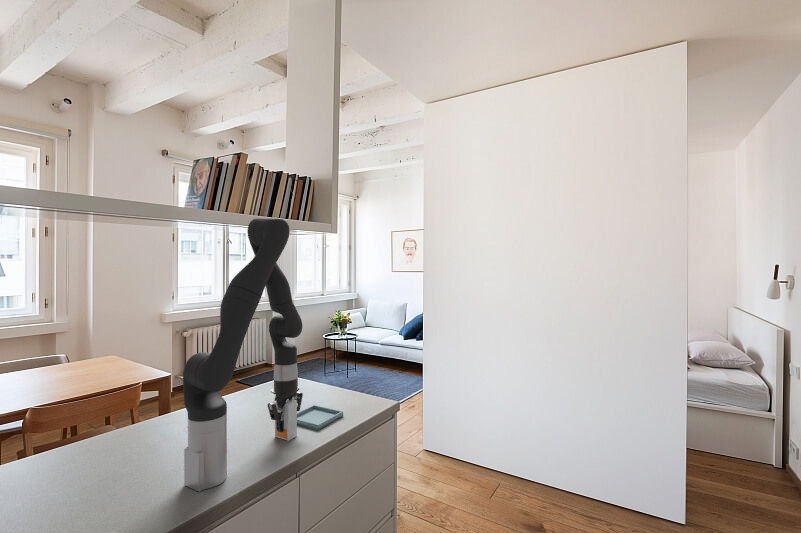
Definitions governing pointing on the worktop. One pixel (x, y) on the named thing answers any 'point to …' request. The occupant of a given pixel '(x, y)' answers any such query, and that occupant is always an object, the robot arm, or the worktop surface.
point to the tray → (317, 417)
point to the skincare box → (288, 421)
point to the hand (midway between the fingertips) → (285, 428)
